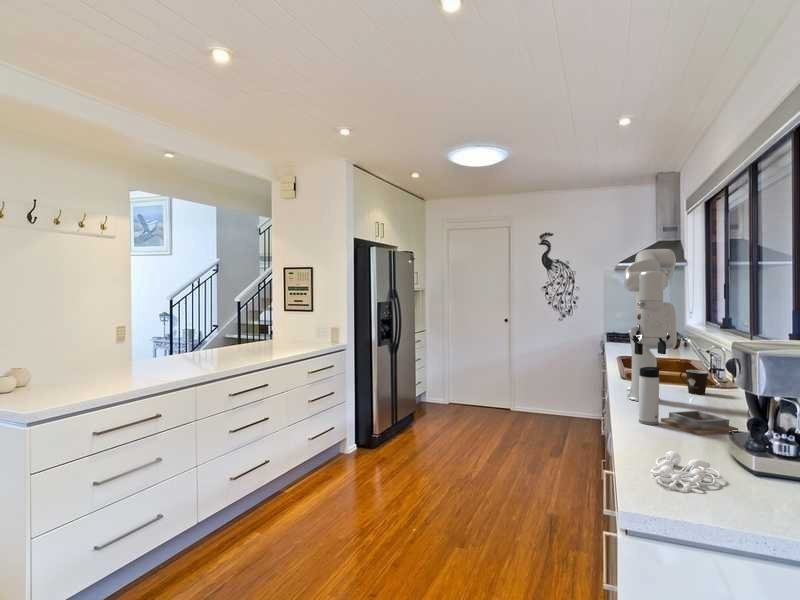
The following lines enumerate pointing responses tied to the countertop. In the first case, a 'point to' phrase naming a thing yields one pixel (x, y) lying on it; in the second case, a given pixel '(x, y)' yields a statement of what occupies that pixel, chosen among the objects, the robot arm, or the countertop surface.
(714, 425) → the frame
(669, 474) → the tangled rod sculpture
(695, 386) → the coffee mug
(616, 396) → the countertop surface
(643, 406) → the travel mug
